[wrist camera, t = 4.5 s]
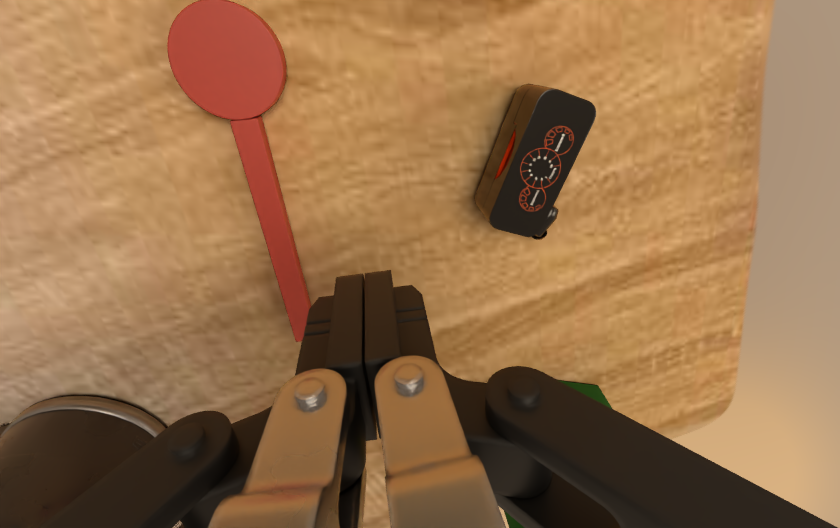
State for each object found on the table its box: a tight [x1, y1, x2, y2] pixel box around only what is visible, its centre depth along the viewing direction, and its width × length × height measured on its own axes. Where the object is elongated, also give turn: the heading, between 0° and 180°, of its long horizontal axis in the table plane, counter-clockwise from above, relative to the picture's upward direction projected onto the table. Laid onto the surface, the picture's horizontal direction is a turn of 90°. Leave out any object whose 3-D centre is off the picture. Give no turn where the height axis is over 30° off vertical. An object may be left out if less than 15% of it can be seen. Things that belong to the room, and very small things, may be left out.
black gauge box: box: [475, 84, 596, 240], centre depth 19 cm, size 5×7×3 cm, turn 161°
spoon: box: [168, 0, 311, 342], centre depth 20 cm, size 4×17×1 cm, turn 4°
